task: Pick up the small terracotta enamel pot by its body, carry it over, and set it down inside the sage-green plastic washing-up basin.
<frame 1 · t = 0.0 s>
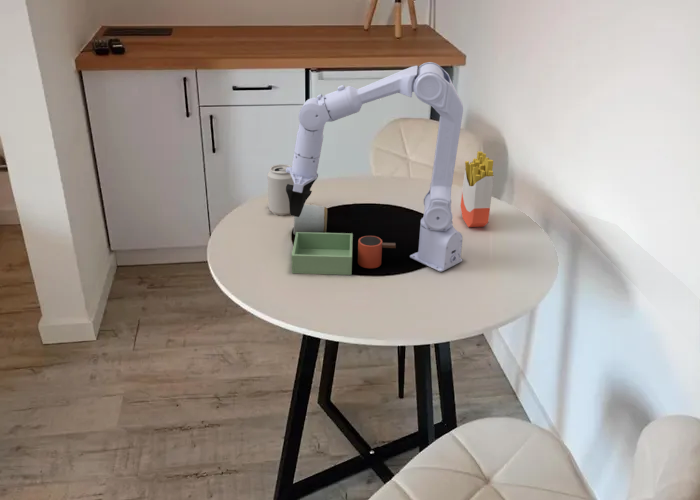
hand: (297, 208, 155), 11 cm above the table, tool pointing down, fingers open, 7 cm apart
ceramic mug: (309, 231, 169), on the table
french fries container: (472, 223, 176), on the table
can: (283, 211, 180), on the table
basin: (323, 261, 155), on the table
pot: (369, 262, 155), on the table
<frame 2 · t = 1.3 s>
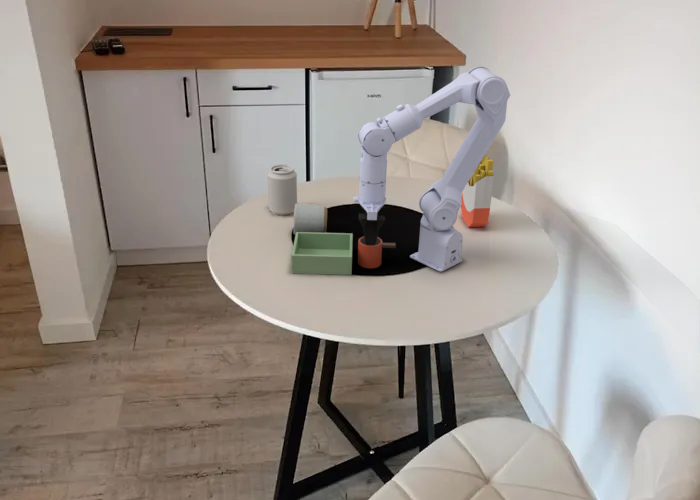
hand: (370, 236, 152), 7 cm above the table, tool pointing down, fingers open, 7 cm apart
nothing on the table moved.
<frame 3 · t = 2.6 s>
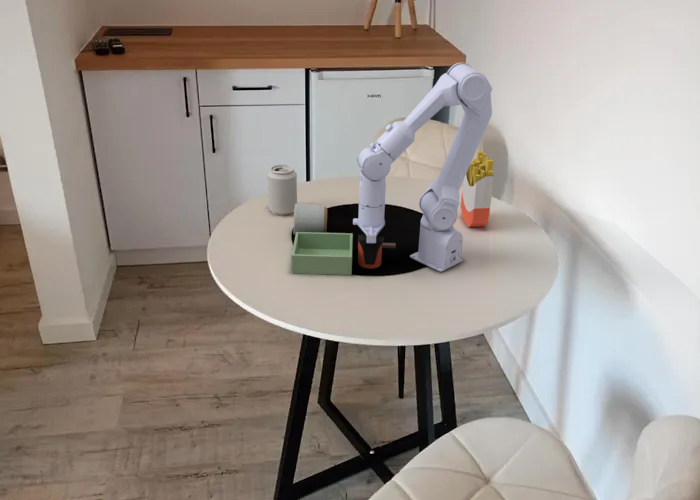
hand: (369, 257, 154), 1 cm above the table, tool pointing down, fingers closed on pot, 5 cm apart
pot: (369, 262, 155), on the table, touching gripper
everything else where it was.
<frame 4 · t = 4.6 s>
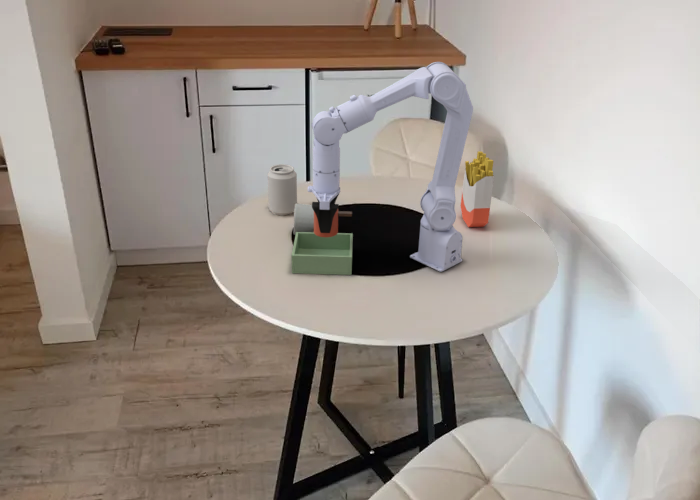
hand: (325, 226, 151), 9 cm above the table, tool pointing down, fingers closed on pot, 5 cm apart
pot: (325, 232, 152), point 8 cm above the table, touching gripper
everything else where it was.
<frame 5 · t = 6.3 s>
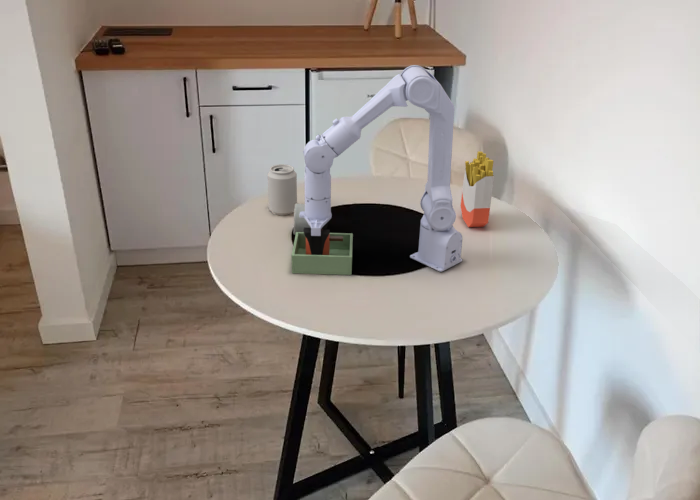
hand: (317, 250, 154), 3 cm above the table, tool pointing down, fingers closed on pot, 5 cm apart
pot: (317, 256, 155), point 1 cm above the table, touching gripper
everything else where it was.
when the fingers open (2 cm above the table, at t = 7.1 s): pot stays where it is, resting on basin.
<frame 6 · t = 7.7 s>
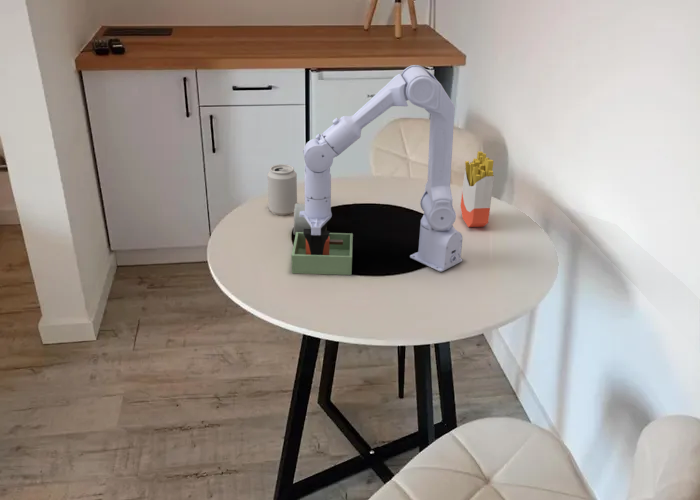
hand: (317, 250, 154), 3 cm above the table, tool pointing down, fingers open, 7 cm apart
pot: (317, 259, 155), resting on basin
everything else where it was.
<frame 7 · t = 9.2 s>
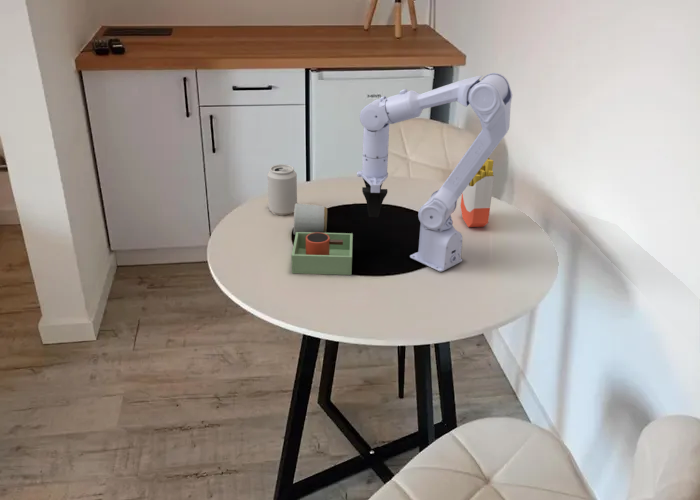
hand: (373, 209, 159), 9 cm above the table, tool pointing down, fingers open, 7 cm apart
nothing on the table moved.
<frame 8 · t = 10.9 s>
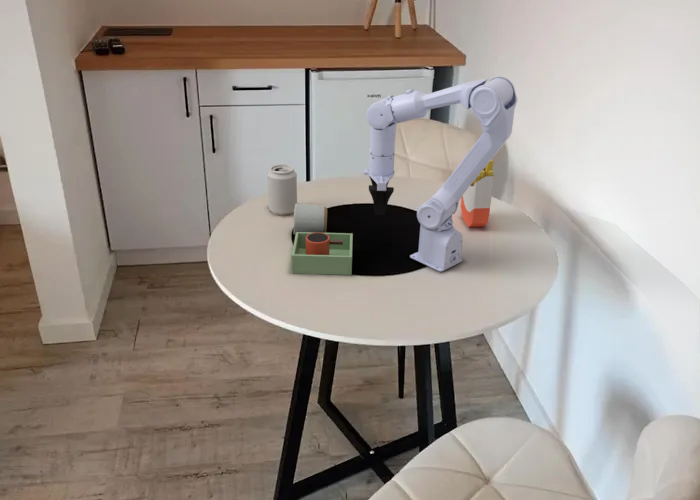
hand: (379, 207, 160), 9 cm above the table, tool pointing down, fingers open, 7 cm apart
nothing on the table moved.
at the end: pot inside the target area in the basin (1.2 cm from its centre), point 0.5 cm above the basin's base; pot tilted 0°; the gripper is holding nothing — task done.
